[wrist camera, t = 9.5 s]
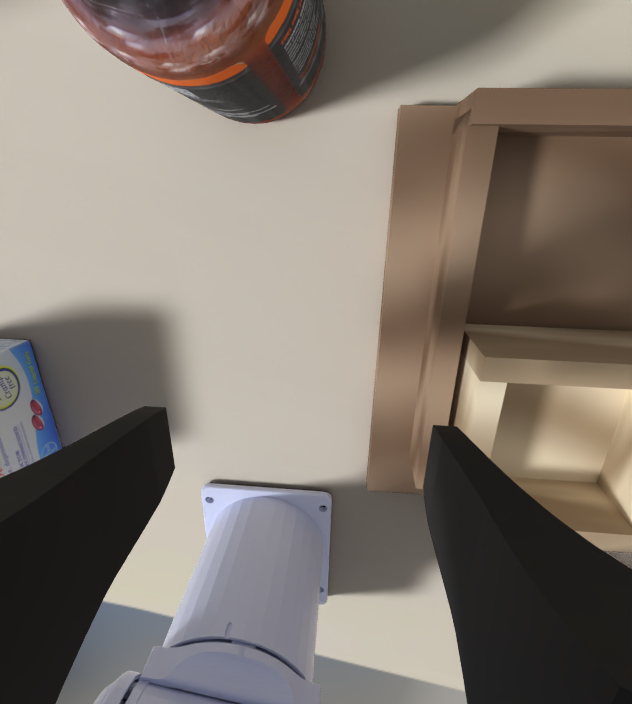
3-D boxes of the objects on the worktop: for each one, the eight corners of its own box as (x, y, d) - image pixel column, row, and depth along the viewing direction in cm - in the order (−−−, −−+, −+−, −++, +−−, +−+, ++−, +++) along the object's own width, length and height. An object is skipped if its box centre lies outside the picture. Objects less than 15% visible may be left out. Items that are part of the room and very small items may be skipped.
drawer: (588, 535, 23) (692, 688, 16) (425, 522, 23) (457, 664, 16) (663, 332, 18) (857, 423, 11) (458, 323, 19) (521, 404, 12)
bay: (650, 498, 23) (707, 559, 19) (366, 478, 24) (369, 531, 20) (816, 113, 16) (960, 90, 12) (398, 109, 17) (411, 87, 13)
